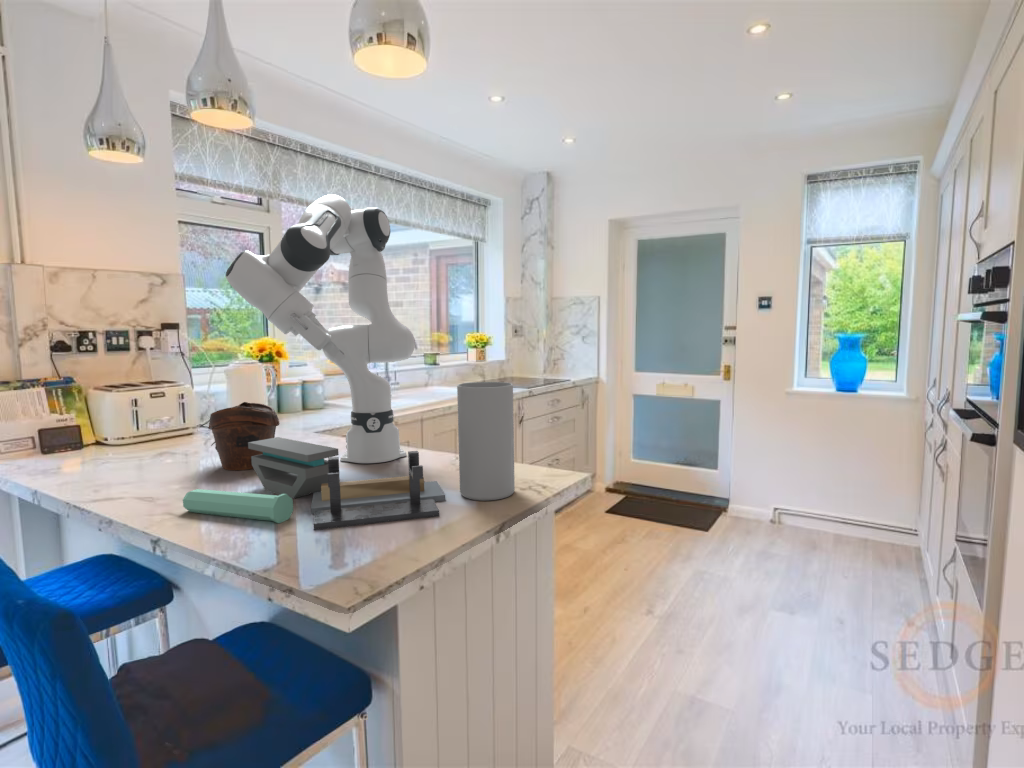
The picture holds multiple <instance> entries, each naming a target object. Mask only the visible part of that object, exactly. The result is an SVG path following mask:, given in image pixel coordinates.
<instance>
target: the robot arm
mask: <svg viewBox="0 0 1024 768" xmlns="http://www.w3.org/2000/svg"><path fill="white" fill-rule="evenodd" d="M390 236H391V224H390V221H389V219H388V216H387V215H386V213H385V212H384V211H383V210H382V209H381V208H379V207H365V208H363V209H362V208H361V209H354V210H353V209H351V206H350V204H349V203H348V201H346V199H344V197H341V196H340V195H337V194H327V195H326V194H325V195H323V196H322V197H320V198H318V199H316V200H315V201H313V202H312V203H311V204H310V205H309V206H308V207H307V208H306V209H305V211H304V212H303V214H302V215H301V216H300V219H299V221H298V224H294V225H292V226H289V227H288V228H287V230H286V231H285V233H284V234H283V237H282V238H281V239H280V241H279V242H278V244H276V247H274V249H273V251H271V252H270V254H269V253H268V254H265V255H261V254H259V255H258V254H254V253H253V252H252V251H249V250H247V249H246V250H243V251H242V252H240V253H239V254H238V255H237V256H236V258H235V259H234V260H233V261H232V263H231V264H230V265H229V267H228V268H227V270H226V273H225V279H226V281H227V282H228V284H230V286H231V288H233V290H234V291H236V293H237V294H238V295H239V296H241V298H242V299H244V300H245V301H246V302H247V303H249V305H251V306H253V307H254V308H255V309H258V311H260V312H261V313H262V314H263V316H264V317H265V318H266V319H267V320H268V321H269V322H271V324H272V325H274V326H275V328H277V329H278V330H279V331H281V333H283V334H284V335H287V334H289V333H291V334H293V335H294V336H295V337H296V336H298V335H300V336H301V337H302V338H303V339H305V340H306V342H308V343H309V344H310V345H311V346H312V347H313V348H315V349H316V350H317V351H321V350H322V352H323V354H324V355H325V357H326V358H327V359H328V360H329V361H330V362H331V363H333V364H334V365H335V366H337V367H338V368H339V369H340V370H341V371H342V372H343V374H344V375H345V378H346V379H347V382H348V385H349V390H350V396H351V397H350V399H351V406H352V407H351V408H352V411H351V412H350V423H351V427H349V429H348V431H346V434H345V443H346V446H345V447H346V450H345V452H344V453H343V454H342V455H341V456H340V458H339V462H340V461H341V462H348V463H349V462H350V463H353V464H354V463H355V464H378V463H385V462H390V461H393V460H397V459H399V458H403V457H408V454H407V452H406V451H405V450H403V449H402V448H401V443H400V429H399V428H398V427H397V425H395V424H394V409H392V395H391V393H392V392H391V391H392V389H391V384H390V382H389V381H388V380H387V379H386V378H384V377H383V376H382V375H381V376H380V375H378V374H376V373H374V372H372V371H371V370H370V369H369V368H368V364H373V363H374V364H376V363H377V364H378V363H379V364H382V363H395V362H401V361H405V360H408V359H409V358H410V357H411V356H412V355H413V353H414V351H415V348H416V347H415V346H416V342H415V341H416V340H415V336H414V334H413V332H412V331H411V329H409V327H407V326H406V325H404V324H403V323H401V322H400V321H399V320H398V319H397V318H396V317H395V315H394V313H393V311H392V310H391V307H390V303H389V297H388V280H387V270H386V264H385V260H384V256H383V253H382V251H384V250H385V248H386V244H387V243H388V241H389V239H390ZM341 254H350V260H349V264H348V265H349V266H348V267H349V268H348V280H347V281H348V305H349V308H350V309H351V310H352V311H353V312H354V313H355V314H357V315H358V316H359V317H360V316H361V317H363V318H365V319H367V320H368V321H369V322H370V324H346V325H345V324H344V325H340V326H339V325H338V326H334V327H331V328H328V329H326V328H325V327H324V326H323V324H321V322H320V321H319V320H318V319H317V317H316V316H317V315H316V314H315V313H314V312H313V308H314V307H315V305H314V304H312V303H311V302H310V301H309V300H308V299H307V298H306V297H305V296H304V295H303V294H302V293H300V291H302V289H303V288H304V287H305V286H306V284H307V283H309V281H310V280H311V279H312V277H313V276H314V275H315V274H316V273H317V272H318V271H319V269H320V268H322V266H323V265H324V264H326V263H327V262H328V261H329V259H330V256H339V255H341Z"/></svg>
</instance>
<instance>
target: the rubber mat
mask: <svg viewBox="0 0 1024 768" xmlns="http://www.w3.org/2000/svg"><path fill="white" fill-rule="evenodd" d="M312 494H313V495H312V500H311V505H310V515H315V511H320V510H329V509H331V508H330V500H328V501H322V495H321V491H319V492H314V493H312ZM428 499H433V500H434V501H435V502H440V501H446V493H445V491H444V490H443V489H442V487H441V486H440V484H439V482H438V481H437V480H433V481H424V491H420V500H428ZM408 501H410V494H409V493H400V494H389V495H379V496H369V497H359V498H348V499H341V508H349V507H359V506H369V505H379V504H388V503H398V502H408Z"/></svg>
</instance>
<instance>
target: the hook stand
mask: <svg viewBox="0 0 1024 768" xmlns="http://www.w3.org/2000/svg"><path fill="white" fill-rule="evenodd" d="M419 453H420V452H419V451H418V450H409V451H407V459H408V461H407V462H408V463H407V464H408V476H409V494H410V501H408V502H398V503H388V504H379V505H369V506H359V507H349V508H341V495H340V482H341V481H340V480H341V479H340V477H341V476H340V458H339V456H333V457H329V458H328V459H327V460H328V468H329V473H328V487H329V488H330V508H331V509H329V510H320V511H315V514H314V517H313V531H317V530H325V529H335V528H342V527H343V528H344V527H353V526H354V527H355V526H363V525H372V524H380V523H389V522H390V523H391V522H399V521H408V520H417V519H425V518H434V517H440V509H439V507H438V505H437V503H436V501H434V500H433V499H428V500H420V479H423V477H424V466H423V465H422V464H421V465H420V454H419Z"/></svg>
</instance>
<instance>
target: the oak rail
mask: <svg viewBox="0 0 1024 768" xmlns="http://www.w3.org/2000/svg"><path fill="white" fill-rule="evenodd" d="M424 482H425V477H424V476H423V479H420V491H424ZM320 492H321V495H322V501H328V500H330V488H329V487H328V483H325V484H322V485H321V491H320ZM400 493H409V475H406V476H396V477H395V476H394V477H393V476H392V477H384V478H382V477H381V478H371V479H359V480H352V481H351V480H349V481H347V480H346V481H340V495H341V499H348V498H359V497H369V496H379V495H389V494H400Z"/></svg>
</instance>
